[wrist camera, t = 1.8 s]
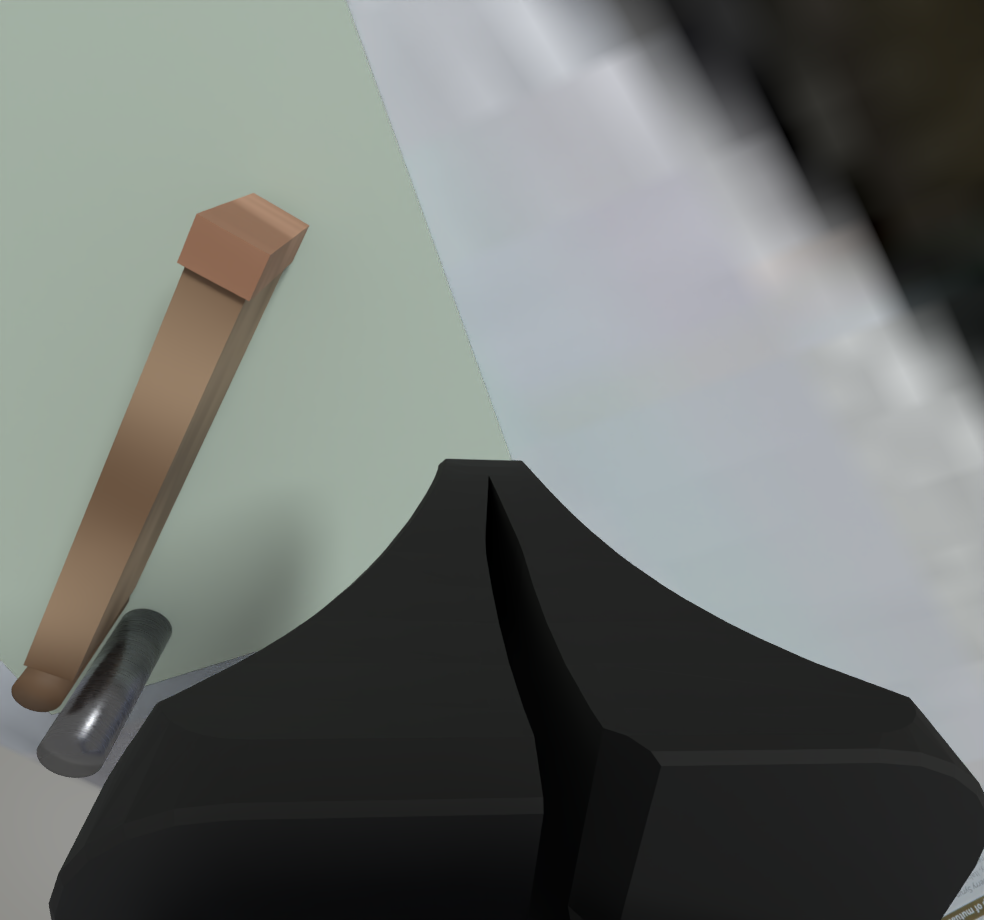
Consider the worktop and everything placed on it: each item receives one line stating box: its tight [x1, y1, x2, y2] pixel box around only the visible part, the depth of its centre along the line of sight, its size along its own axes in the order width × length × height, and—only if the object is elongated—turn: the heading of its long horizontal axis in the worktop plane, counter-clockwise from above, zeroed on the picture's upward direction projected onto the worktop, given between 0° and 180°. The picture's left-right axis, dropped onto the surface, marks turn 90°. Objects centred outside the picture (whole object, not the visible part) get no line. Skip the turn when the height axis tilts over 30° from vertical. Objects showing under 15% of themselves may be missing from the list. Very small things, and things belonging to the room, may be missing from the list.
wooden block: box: [12, 193, 309, 712], centre depth 16 cm, size 14×1×4 cm, turn 149°
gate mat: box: [0, 0, 512, 715], centre depth 18 cm, size 21×18×1 cm
